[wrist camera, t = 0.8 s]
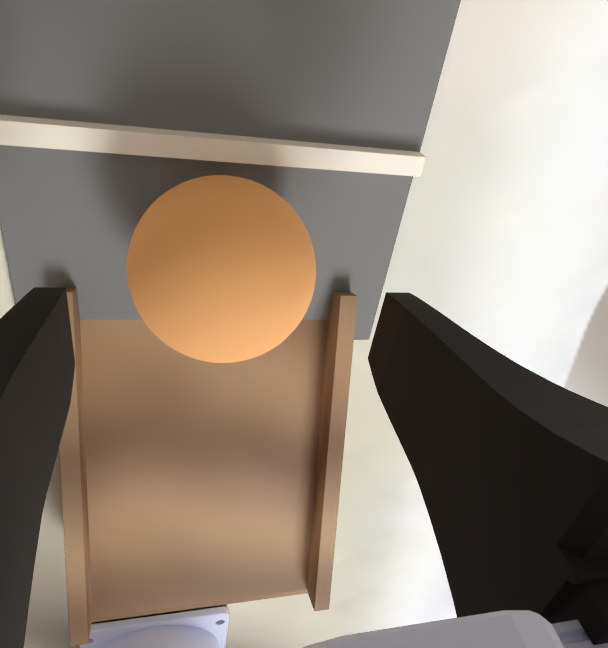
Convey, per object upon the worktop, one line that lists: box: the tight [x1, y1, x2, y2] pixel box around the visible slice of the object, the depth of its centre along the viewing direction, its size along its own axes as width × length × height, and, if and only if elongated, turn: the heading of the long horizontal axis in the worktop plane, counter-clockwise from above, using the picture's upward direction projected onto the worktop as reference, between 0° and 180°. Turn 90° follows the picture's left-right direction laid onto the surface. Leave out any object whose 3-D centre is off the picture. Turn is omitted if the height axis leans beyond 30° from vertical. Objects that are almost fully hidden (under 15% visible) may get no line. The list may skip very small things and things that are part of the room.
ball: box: [127, 175, 316, 363], centre depth 14 cm, size 5×5×5 cm
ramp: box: [55, 287, 358, 646], centre depth 20 cm, size 14×10×7 cm
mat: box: [0, 0, 461, 340], centre depth 14 cm, size 14×12×3 cm
